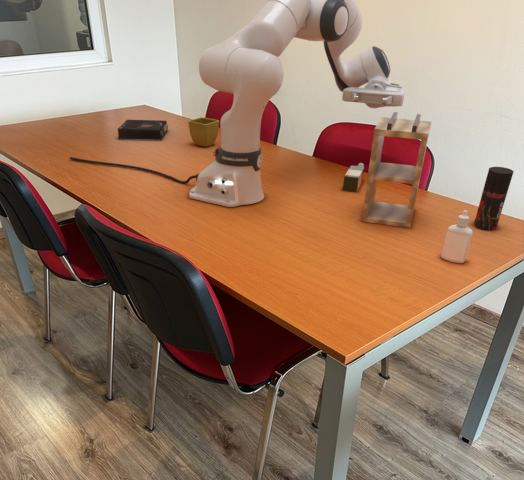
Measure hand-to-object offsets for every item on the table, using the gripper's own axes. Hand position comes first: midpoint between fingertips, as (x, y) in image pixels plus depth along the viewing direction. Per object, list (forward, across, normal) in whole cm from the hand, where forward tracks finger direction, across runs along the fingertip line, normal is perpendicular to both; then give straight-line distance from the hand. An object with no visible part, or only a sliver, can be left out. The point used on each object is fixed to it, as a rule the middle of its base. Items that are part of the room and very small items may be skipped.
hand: (370, 100), depth 166 cm
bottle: (+12, 0, +22) cm, 26 cm away
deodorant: (+37, +40, +23) cm, 59 cm away
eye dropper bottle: (+62, +32, +23) cm, 73 cm away
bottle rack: (+39, +14, +23) cm, 47 cm away
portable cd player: (-15, -92, +23) cm, 96 cm away
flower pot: (-10, -63, +23) cm, 68 cm away
